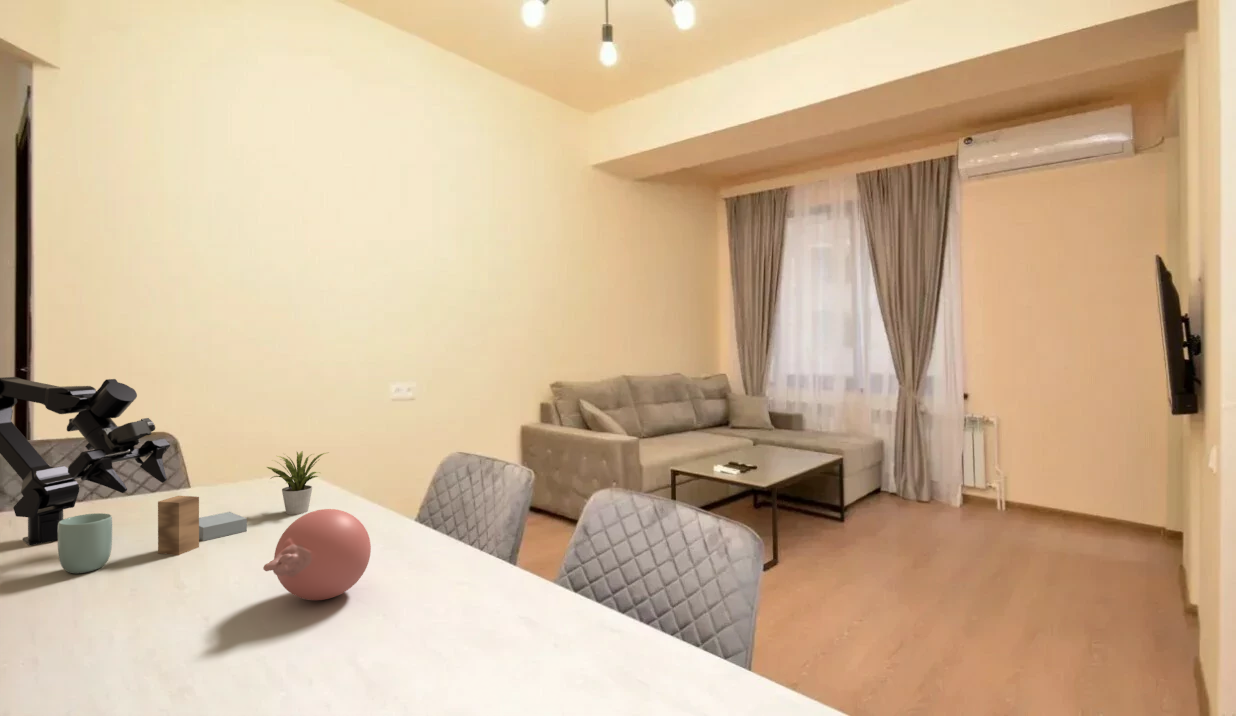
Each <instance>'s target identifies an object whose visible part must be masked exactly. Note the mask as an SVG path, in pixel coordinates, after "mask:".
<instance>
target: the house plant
mask: <svg viewBox="0 0 1236 716" xmlns="http://www.w3.org/2000/svg"><path fill="white" fill-rule="evenodd" d="M329 453H330V452H323V453H320V454H319V455H316V457H314V458H313V460H312V461H310V463H309V465H308V461H309V458H310V457H311V456H312V455H314V453H312V454H310V455H308V456H307V457H306V458H305V460H304V462H303V464H302V461H303V457H304V451H303V450H302V451H300V452H298V451H296V465H295V463H294V461H293V460H292V458H290V457H289V456H288V455H287V454H285V453H284V452H283V453H282V454H283V455H285V456H286V457H287V458H286V457H283V456H280V455H277V457H279V458H280V459H279V460H281V461H282V460H283V462H284V464H285V466H284V465H282V464H281V463H280V462H279V461H277V460H274V459H272V461H273V462H275V463H277V464H279V465H280V466H282V468H284V469H285V471H286V472H287V473H288V474H289V475H288V474H287V473H286V472H284V471H282V470H280V469H278V468H275V467H272V466H266V468H267V469H268V470H271V471H272V472H273V473H274V474H276V475H274V476H272V477H270V479H269V480H271V479H272V478H273V479H274V478H278V477H279V478H281V479H282V480H284V481H285V484H287V485H288V486H286V487H283V488H282V489H281V492H282V497H283V504H284V509H285V510H284V511H285V514H287V515H300V513H302V514H305V513H307V512H309V507H310V502H311V496H312V492H313V491H312V490H313V486H312V485H308V484H307V483H308V482H309V481H310V480H312V479H314V478H317V477H318V478H320V476H318V475H315V474H318V473H319V474H321V472H319V471H312V472H310V470H311V469H312V468H313V467H314V466H315V464H316V463H317V462H318V461H320V459H321V458H320V457H321V456H323V455H325V454H329ZM307 465H308V466H307ZM306 467H307V468H306ZM309 472H310V473H309ZM304 512H305V513H304Z"/></svg>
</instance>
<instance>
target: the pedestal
mask: <svg viewBox="0 0 1236 716" xmlns="http://www.w3.org/2000/svg"><path fill="white" fill-rule="evenodd" d="M247 523H248V518H247V517H244V516H241V515H240V514H236V513H234V512H232V511H227V512H222V513H217V514H213V515H206V516H201V517H199V541H200V540H201V541H203V542H205V541H210V540H213V539H218V538H222V537H227V536H231V535H235V534H239V533H244V532H247V530H248V525H247Z"/></svg>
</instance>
